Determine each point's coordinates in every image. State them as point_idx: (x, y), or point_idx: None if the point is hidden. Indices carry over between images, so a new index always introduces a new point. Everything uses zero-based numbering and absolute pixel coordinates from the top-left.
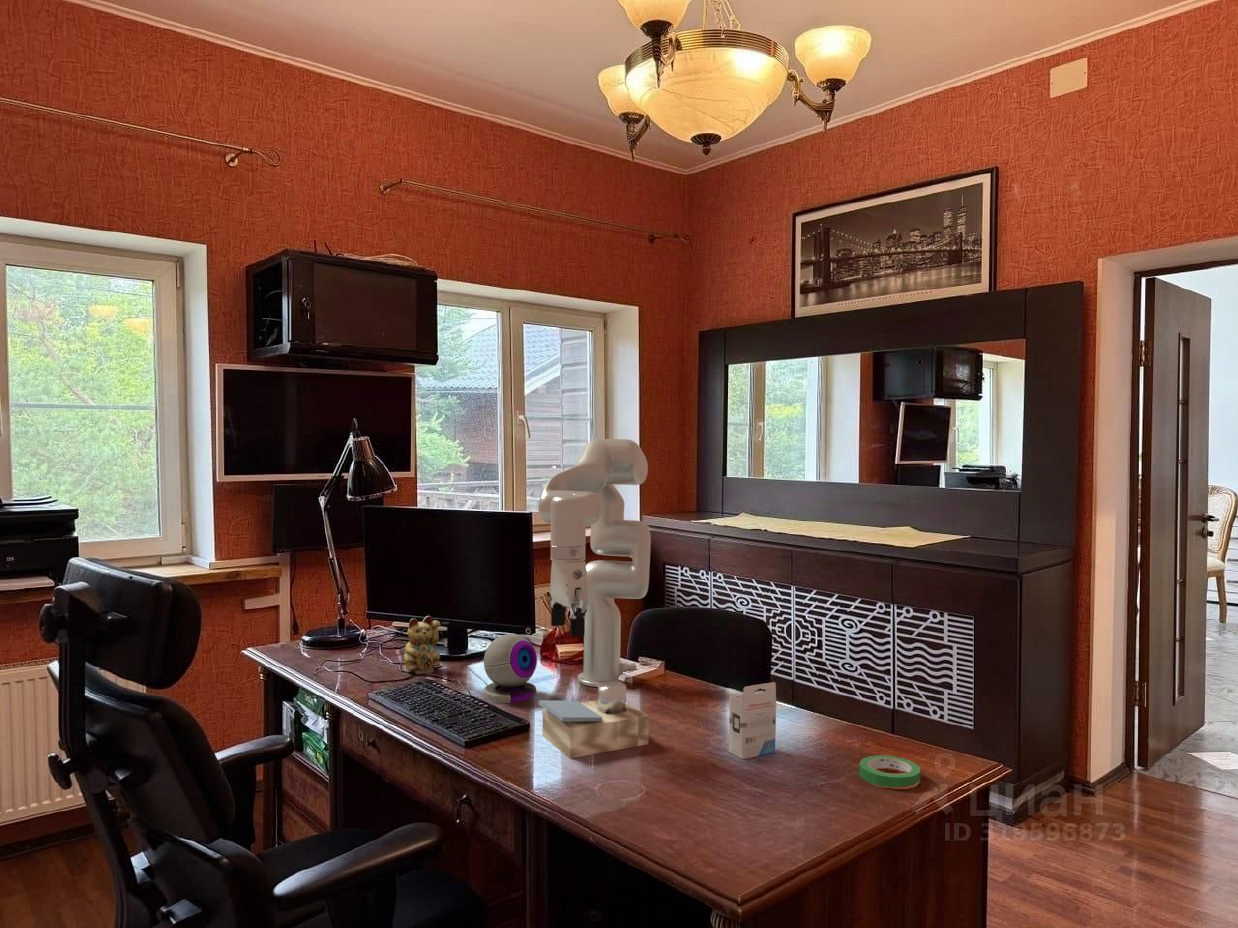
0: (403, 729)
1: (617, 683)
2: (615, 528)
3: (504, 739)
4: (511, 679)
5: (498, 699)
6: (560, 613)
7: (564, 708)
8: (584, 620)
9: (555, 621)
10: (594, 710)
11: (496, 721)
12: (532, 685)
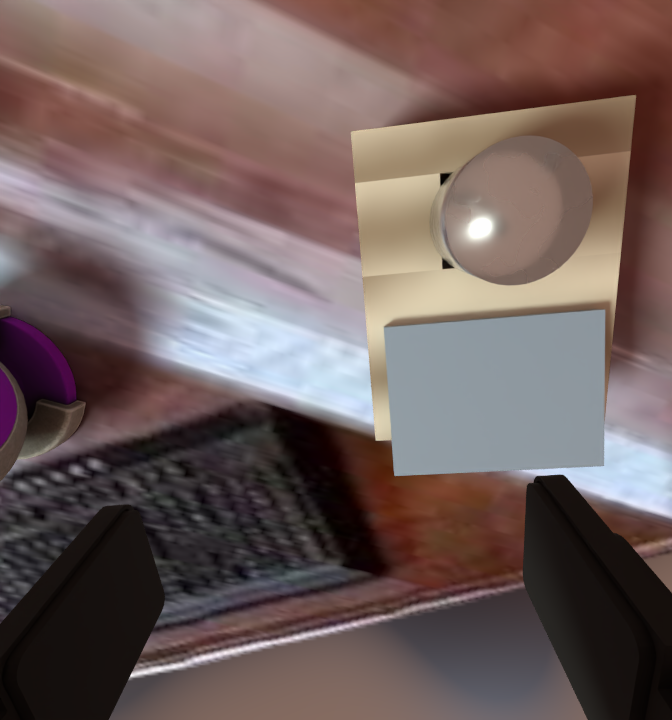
0: (229, 648)
1: (490, 168)
2: None
3: (363, 492)
4: (25, 427)
5: (71, 433)
6: (80, 649)
7: (491, 417)
8: (665, 599)
9: (143, 616)
10: (470, 288)
11: (229, 474)
12: None
